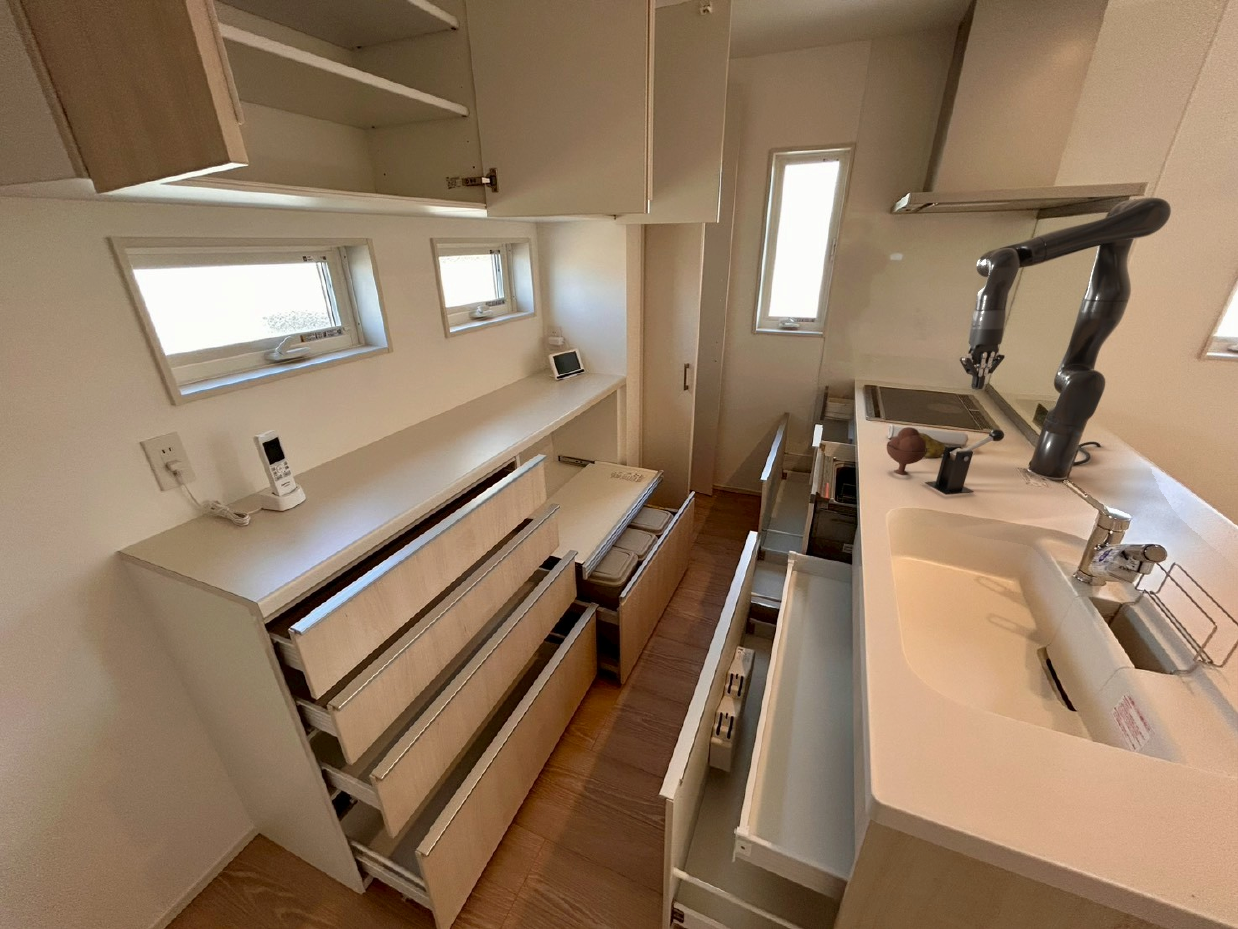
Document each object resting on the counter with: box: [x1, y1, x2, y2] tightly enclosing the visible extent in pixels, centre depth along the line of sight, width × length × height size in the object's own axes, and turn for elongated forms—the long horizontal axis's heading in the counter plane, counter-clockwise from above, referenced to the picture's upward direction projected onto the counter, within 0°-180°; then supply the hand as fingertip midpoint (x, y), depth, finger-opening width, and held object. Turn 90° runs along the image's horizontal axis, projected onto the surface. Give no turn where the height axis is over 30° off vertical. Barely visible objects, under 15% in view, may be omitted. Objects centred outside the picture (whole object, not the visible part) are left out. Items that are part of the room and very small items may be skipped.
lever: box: [950, 428, 1005, 460], centre depth 138 cm, size 15×3×3 cm, turn 100°
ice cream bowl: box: [886, 426, 928, 476], centre depth 150 cm, size 11×11×15 cm
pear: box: [919, 432, 947, 459], centre depth 166 cm, size 8×13×8 cm, turn 72°
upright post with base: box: [924, 445, 974, 496], centre depth 140 cm, size 9×8×13 cm
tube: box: [887, 424, 969, 447], centre depth 179 cm, size 5×5×25 cm
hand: (977, 389), depth 143 cm, fingers closed
